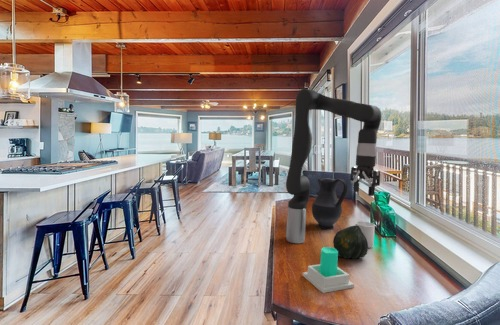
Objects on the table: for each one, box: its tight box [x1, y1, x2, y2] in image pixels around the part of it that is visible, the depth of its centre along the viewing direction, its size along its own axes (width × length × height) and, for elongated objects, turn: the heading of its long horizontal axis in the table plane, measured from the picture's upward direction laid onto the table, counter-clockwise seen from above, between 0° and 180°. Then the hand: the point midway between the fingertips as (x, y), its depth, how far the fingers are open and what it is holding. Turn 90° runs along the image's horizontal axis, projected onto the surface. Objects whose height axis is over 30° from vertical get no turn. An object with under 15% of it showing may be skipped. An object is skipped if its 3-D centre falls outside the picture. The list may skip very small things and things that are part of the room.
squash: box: [332, 225, 369, 259], centre depth 130 cm, size 14×15×15 cm
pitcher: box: [311, 178, 348, 230], centre depth 170 cm, size 17×21×30 cm
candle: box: [319, 246, 339, 277], centre depth 106 cm, size 6×6×12 cm
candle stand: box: [302, 263, 355, 294], centre depth 106 cm, size 13×13×4 cm
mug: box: [354, 220, 376, 249], centre depth 145 cm, size 12×9×11 cm
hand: (363, 193), depth 120 cm, fingers open, 8 cm apart
